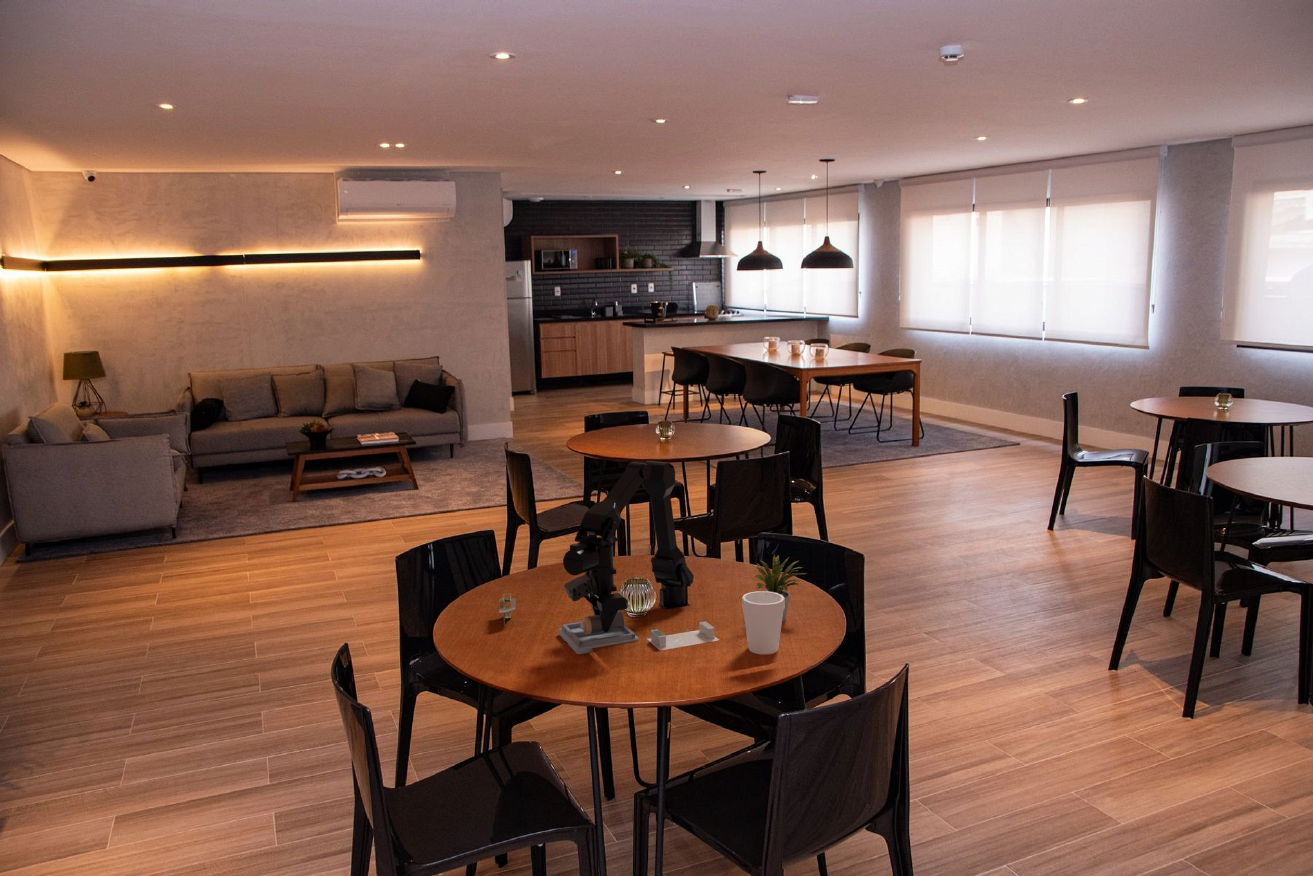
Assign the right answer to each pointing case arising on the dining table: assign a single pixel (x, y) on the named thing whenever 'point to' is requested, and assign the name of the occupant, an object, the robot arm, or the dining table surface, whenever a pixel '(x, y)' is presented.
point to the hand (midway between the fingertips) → (602, 629)
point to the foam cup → (763, 620)
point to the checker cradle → (683, 637)
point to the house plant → (773, 582)
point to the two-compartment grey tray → (594, 637)
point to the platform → (506, 610)
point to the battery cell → (594, 623)
